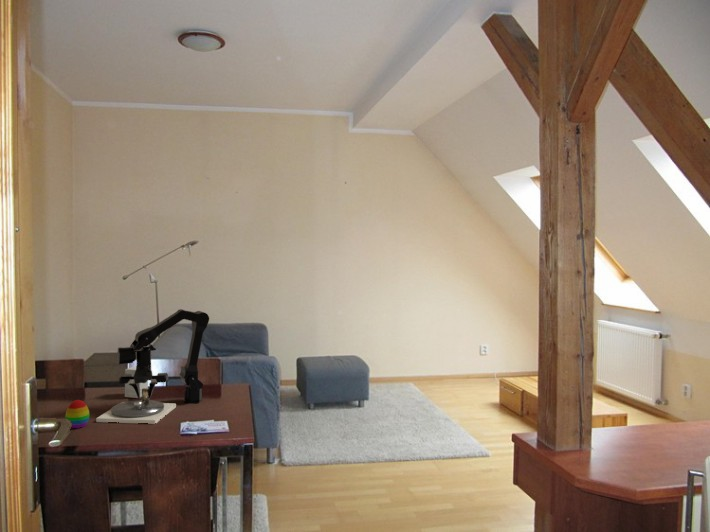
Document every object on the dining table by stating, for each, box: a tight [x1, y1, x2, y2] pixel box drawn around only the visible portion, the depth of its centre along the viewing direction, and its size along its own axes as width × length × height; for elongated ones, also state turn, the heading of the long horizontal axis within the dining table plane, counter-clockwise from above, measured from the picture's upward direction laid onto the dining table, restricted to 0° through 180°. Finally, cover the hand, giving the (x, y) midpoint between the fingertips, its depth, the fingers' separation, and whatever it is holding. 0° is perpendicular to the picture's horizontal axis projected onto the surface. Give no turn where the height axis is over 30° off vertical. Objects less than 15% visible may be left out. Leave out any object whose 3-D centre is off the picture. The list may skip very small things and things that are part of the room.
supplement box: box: [124, 365, 149, 399], centre depth 263 cm, size 7×7×13 cm
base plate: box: [95, 401, 177, 425], centre depth 236 cm, size 23×23×2 cm
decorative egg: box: [64, 399, 90, 429], centre depth 219 cm, size 8×8×10 cm
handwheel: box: [110, 387, 164, 417], centre depth 236 cm, size 20×20×6 cm
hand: (144, 398), depth 244 cm, fingers open, 4 cm apart
